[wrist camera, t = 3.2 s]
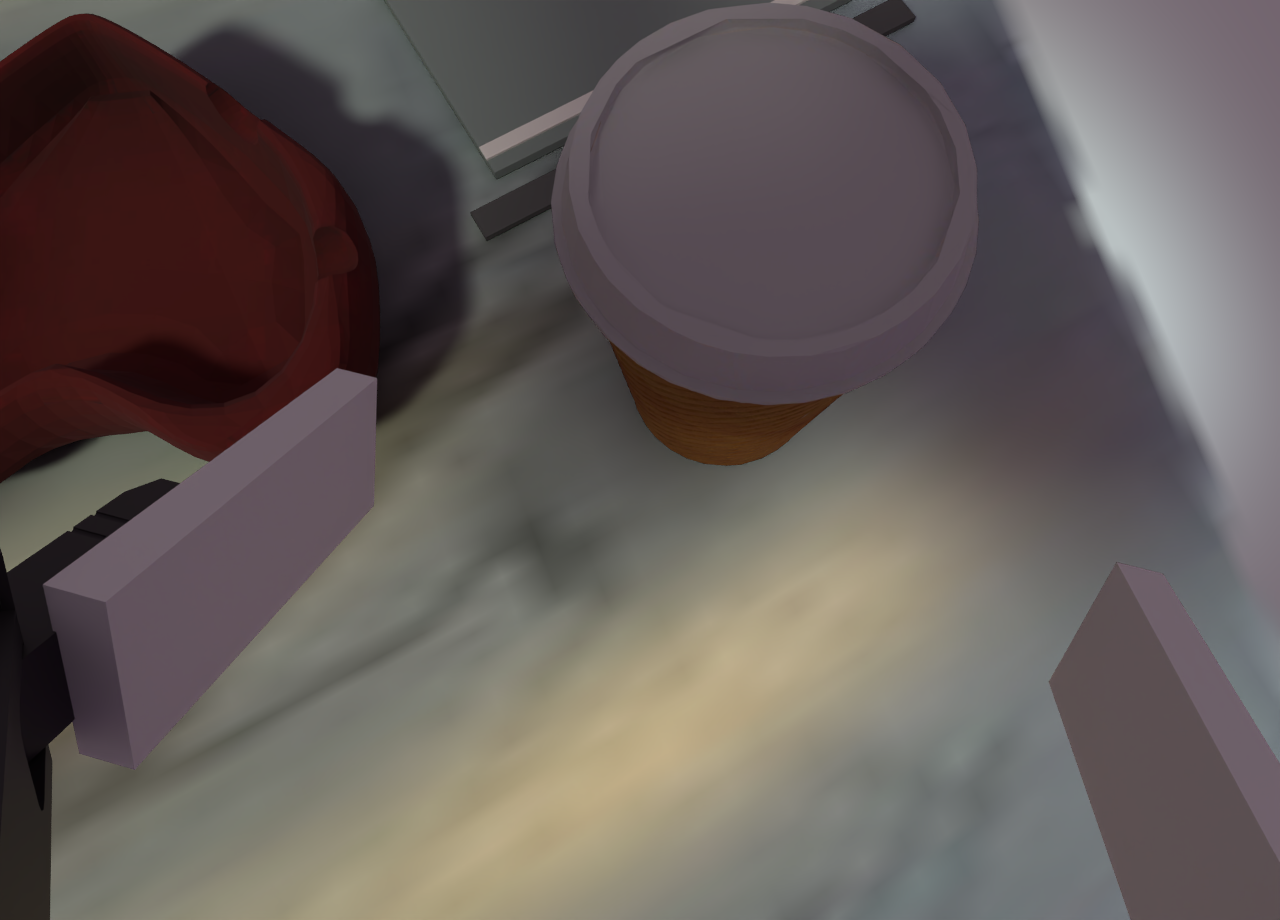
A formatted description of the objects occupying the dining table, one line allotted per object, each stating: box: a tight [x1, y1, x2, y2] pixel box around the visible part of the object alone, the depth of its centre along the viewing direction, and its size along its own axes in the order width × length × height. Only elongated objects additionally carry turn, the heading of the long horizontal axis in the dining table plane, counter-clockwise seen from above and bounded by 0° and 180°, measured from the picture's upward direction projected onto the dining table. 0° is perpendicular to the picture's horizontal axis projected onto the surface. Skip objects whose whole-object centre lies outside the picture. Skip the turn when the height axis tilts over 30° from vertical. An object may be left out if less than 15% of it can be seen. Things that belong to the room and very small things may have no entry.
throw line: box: [470, 0, 915, 241], centre depth 32 cm, size 1×19×1 cm, turn 121°
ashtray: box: [0, 14, 380, 483], centre depth 28 cm, size 18×16×5 cm
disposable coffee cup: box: [551, 2, 979, 466], centre depth 23 cm, size 10×10×12 cm
